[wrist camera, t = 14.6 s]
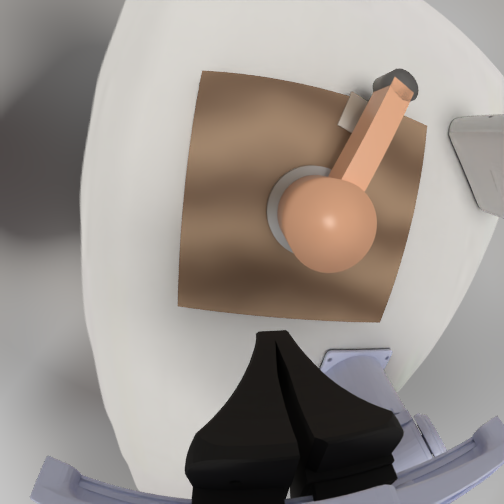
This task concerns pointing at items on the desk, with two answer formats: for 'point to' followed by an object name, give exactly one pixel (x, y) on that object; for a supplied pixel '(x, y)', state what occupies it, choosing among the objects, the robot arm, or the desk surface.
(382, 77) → the wooden tool handle
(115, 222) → the desk surface
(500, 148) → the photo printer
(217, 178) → the walnut base
